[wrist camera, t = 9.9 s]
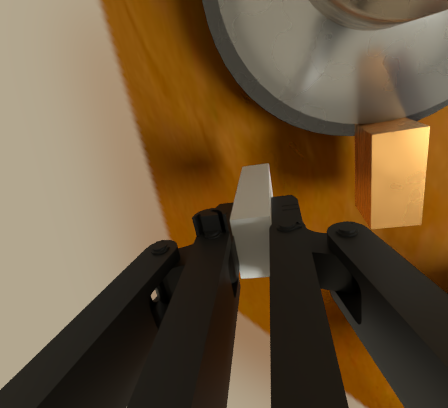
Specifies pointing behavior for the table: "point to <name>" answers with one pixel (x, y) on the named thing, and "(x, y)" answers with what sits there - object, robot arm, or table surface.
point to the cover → (377, 12)
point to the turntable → (353, 90)
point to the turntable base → (263, 95)
